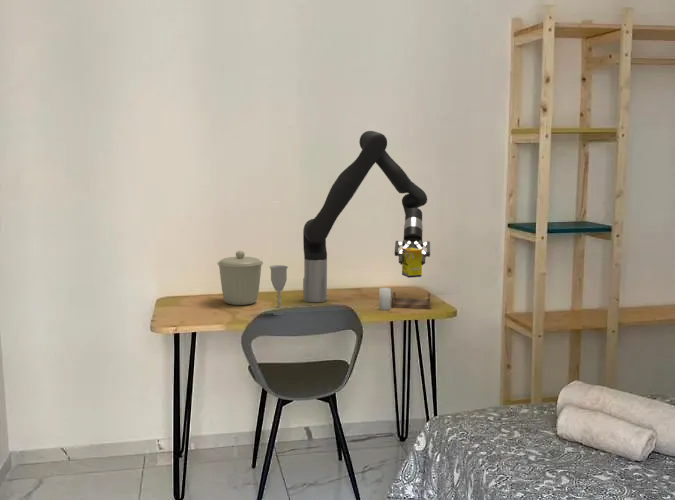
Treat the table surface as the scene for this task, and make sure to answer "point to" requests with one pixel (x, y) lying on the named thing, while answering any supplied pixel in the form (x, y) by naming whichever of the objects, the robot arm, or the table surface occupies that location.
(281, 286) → the chalice
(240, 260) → the canister
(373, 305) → the table surface
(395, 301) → the wooden tray
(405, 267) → the supplement box
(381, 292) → the white rounded capsule
